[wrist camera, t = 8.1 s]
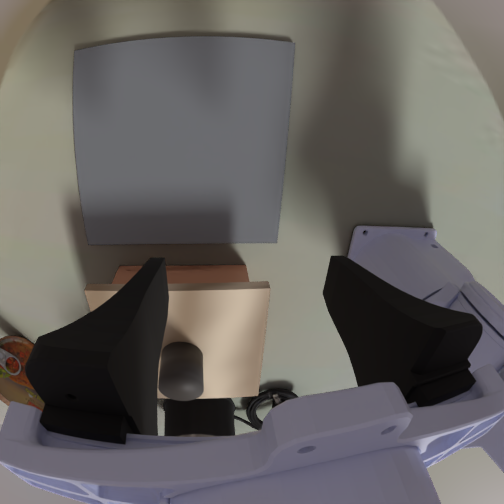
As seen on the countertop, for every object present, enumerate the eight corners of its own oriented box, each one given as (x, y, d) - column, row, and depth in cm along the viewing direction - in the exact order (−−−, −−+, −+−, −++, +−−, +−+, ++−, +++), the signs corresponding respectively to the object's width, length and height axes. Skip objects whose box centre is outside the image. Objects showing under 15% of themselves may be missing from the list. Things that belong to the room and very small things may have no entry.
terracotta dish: (245, 264, 25) (253, 299, 21) (240, 351, 30) (245, 386, 26) (119, 265, 23) (105, 299, 19) (139, 352, 28) (133, 386, 24)
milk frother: (148, 403, 33) (142, 509, 20) (242, 351, 30) (264, 487, 17) (222, 437, 40) (231, 522, 27) (310, 397, 36) (339, 494, 24)
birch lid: (268, 281, 20) (280, 321, 17) (257, 389, 26) (263, 424, 23) (87, 283, 18) (69, 322, 15) (126, 389, 25) (120, 424, 21)
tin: (103, 392, 32) (92, 448, 24) (92, 398, 32) (81, 452, 25) (7, 320, 25) (-23, 374, 17) (0, 331, 25) (-27, 382, 18)
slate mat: (293, 43, 17) (295, 42, 16) (275, 240, 24) (276, 243, 23) (77, 51, 14) (74, 50, 14) (90, 242, 22) (88, 244, 21)
